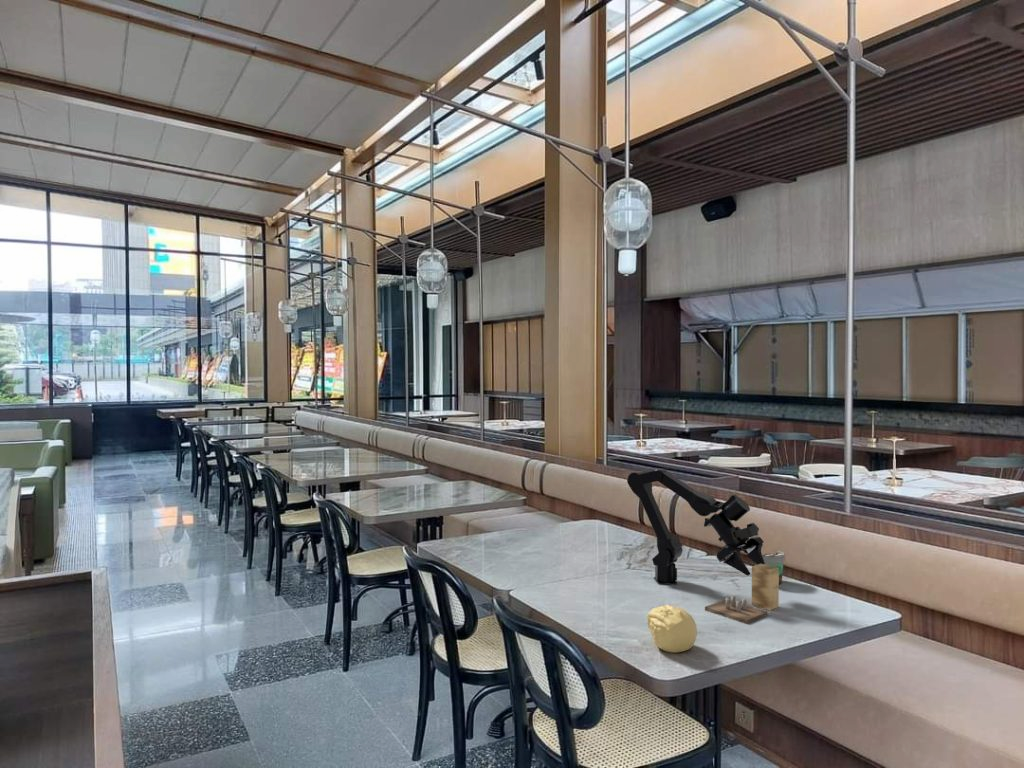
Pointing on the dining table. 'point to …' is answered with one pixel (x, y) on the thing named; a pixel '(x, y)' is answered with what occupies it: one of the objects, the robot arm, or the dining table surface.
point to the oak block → (765, 586)
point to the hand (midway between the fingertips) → (757, 572)
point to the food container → (775, 562)
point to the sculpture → (672, 628)
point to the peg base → (736, 610)
